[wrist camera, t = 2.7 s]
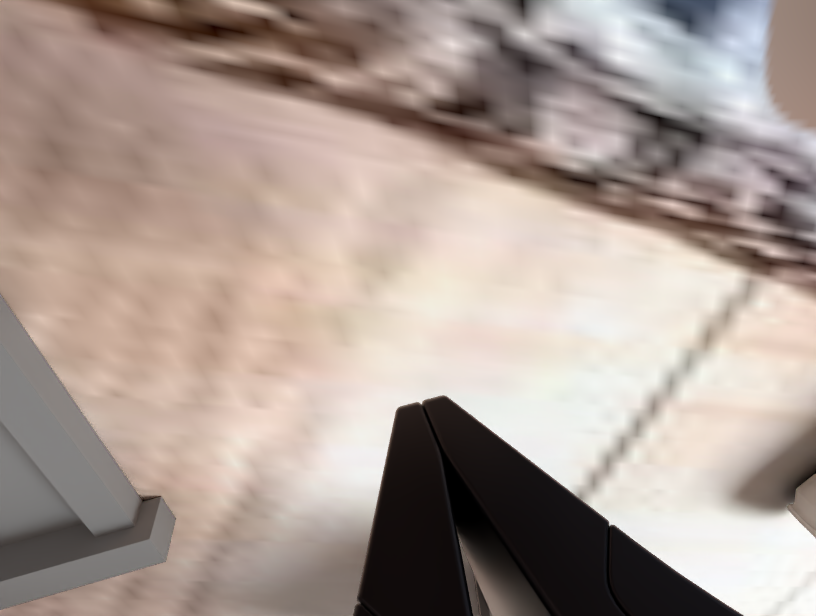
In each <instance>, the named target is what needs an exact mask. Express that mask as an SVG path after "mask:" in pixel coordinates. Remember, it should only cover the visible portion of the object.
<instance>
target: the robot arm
mask: <svg viewBox="0 0 816 616" xmlns="http://www.w3.org/2000/svg"><path fill="white" fill-rule="evenodd" d="M458 538H459V539H458ZM459 540H460V543H461V545H462V548H463V550H464V552H465V554H466V557H467V559H468V561H469V564H470V566H471V568H472V570H473V573H474V579H475V586H476V593H477V599H478V606H479V613H480V616H743V615H742V614H740V613H739V612H737V611H736V610H734V609H732V608H731V607H729V606H728V605H726V604H725V603H723V602H722V601H720V600H719V599H717V598H715V597H714V596H712V595H711V594H709V593H708V592H706V591H705V590H703V589H702V588H700V587H699V586H697V585H696V584H694V583H693V582H691V581H690V580H688V579H687V578H685V577H684V576H682V575H681V574H679V573H678V572H676V571H675V570H674V569H672V568H671V567H670V566H668V565H667V564H665V563H664V562H663V561H661V560H660V559H659V558H657V557H656V556H655V555H653V554H652V553H650V552H649V551H648V550H646V549H645V548H644V547H642V546H641V545H639V544H638V543H637V542H635V541H634V540H633V539H632V538H630V537H629V536H628V535H626V534H625V533H624V532H623V531H621V530H620V529H619V528H617V527H616V526H615V525H610V526H609V521H608V520H607V519H605V518H604V517H603V516H602V515H600V514H599V513H598V512H596V511H595V510H594V509H592V508H591V507H590V506H589V505H587V504H586V503H585V502H583V501H582V500H581V499H579V498H578V497H577V496H576V495H574V494H573V493H572V492H570V491H569V490H568V489H566V488H565V487H564V486H563V485H561V484H560V483H559V482H557V481H556V480H555V479H553V478H552V477H551V476H550V475H548V474H547V473H546V472H544V471H543V470H542V469H540V468H539V467H538V466H537V465H535V464H534V463H533V462H531V461H530V460H529V459H527V458H526V457H525V456H524V455H522V454H521V453H520V452H518V451H517V450H516V449H514V448H513V447H512V446H511V445H509V444H508V443H507V442H505V441H504V440H503V439H501V438H500V437H499V436H498V435H496V434H495V433H494V432H492V431H491V430H490V429H488V428H487V427H486V426H485V425H483V424H482V423H481V422H479V421H478V420H477V419H475V418H474V417H473V416H472V415H470V414H469V413H468V412H466V411H465V410H464V409H462V408H461V407H460V406H459V405H457V404H456V403H455V402H453V401H452V400H451V399H449V398H448V397H447V396H438V397H434V398H431V399H427V400H424V401H423V402H422V405H421V404H420V403H419V402H416V403H412V404H408V405H404V406H401V407H399V408H398V409H397V410H396V414H395V418H394V423H393V428H392V433H391V438H390V442H389V447H388V452H387V457H386V462H385V466H384V471H383V476H382V481H381V486H380V491H379V495H378V500H377V505H376V510H375V515H374V519H373V524H372V529H371V534H370V539H369V543H368V548H367V553H366V558H365V563H364V567H363V572H362V577H361V582H360V587H359V592H358V596H357V602H358V604H357V605H356V606H355V609H354V614H353V616H473V613H472V607H471V602H470V597H469V592H468V586H467V581H466V576H465V570H464V565H463V560H462V555H461V549H460V544H459Z"/></svg>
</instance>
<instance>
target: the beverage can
mask: <svg viewBox="0 0 816 616" xmlns="http://www.w3.org/2000/svg"><path fill="white" fill-rule="evenodd" d="M786 507H787V509H788V510H789V511H790V512H791V514H792V515H793V516H794V517H795V518H796V519H797V520H798V521H799V522H800V523H801V524H802V525H803V526H804V527H805V528H806V529H807V530H808V531H809V532H810V533H811V534H812V535H813V536H814V537H815V538H816V473H815V474H814V475H813V476H811V477H810V478H809V479H808V480H806V481H805V482H804V483H803V484H801V485H800V486H799V487H798V488H796V493H795V500H794V503H793V504H788V505H787V506H786Z"/></svg>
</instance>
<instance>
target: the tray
mask: <svg viewBox="0 0 816 616" xmlns="http://www.w3.org/2000/svg"><path fill="white" fill-rule="evenodd" d="M175 520H176V518H175V517H174V515H173V514H172V512H171V510H170V509H169V507H168V506H167V504H166V503H165V501H164V500H163V498H162V497H157V498H154V499H150V500H147V501H142V499H141V498H140V497H139V495H138V494H137V492H136V491H135V489H134V488H133V486H132V485H131V483H130V482H129V481H128V479H127V478H126V476H125V475H124V473H123V472H122V470H121V469H120V467H119V466H118V464H117V463H116V462H115V460H114V459H113V457H112V456H111V454H110V453H109V451H108V450H107V448H106V447H105V446H104V444H103V443H102V441H101V440H100V438H99V437H98V435H97V434H96V432H95V431H94V430H93V428H92V427H91V425H90V424H89V422H88V421H87V419H86V418H85V416H84V415H83V414H82V412H81V411H80V409H79V408H78V406H77V405H76V403H75V402H74V400H73V399H72V398H71V396H70V395H69V393H68V392H67V390H66V389H65V387H64V386H63V384H62V383H61V381H60V380H59V379H58V377H57V376H56V374H55V373H54V371H53V370H52V368H51V367H50V365H49V364H48V363H47V361H46V360H45V358H44V357H43V355H42V354H41V352H40V351H39V349H38V348H37V347H36V345H35V344H34V342H33V341H32V339H31V338H30V336H29V335H28V333H27V332H26V331H25V329H24V328H23V326H22V325H21V323H20V322H19V320H18V319H17V317H16V316H15V315H14V313H13V312H12V310H11V309H10V307H9V306H8V304H7V303H6V301H5V300H4V298H3V297H2V296H1V294H0V610H2V609H5V608H9V607H12V606H15V605H19V604H22V603H26V602H29V601H33V600H36V599H39V598H43V597H46V596H50V595H53V594H57V593H60V592H63V591H67V590H70V589H74V588H77V587H81V586H84V585H87V584H91V583H94V582H98V581H101V580H105V579H108V578H111V577H115V576H118V575H122V574H125V573H129V572H132V571H135V570H139V569H142V568H146V567H149V566H153V565H156V564H159V563H163V562H166V559H167V554H168V550H169V546H170V542H171V537H172V533H173V529H174V524H175Z"/></svg>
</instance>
